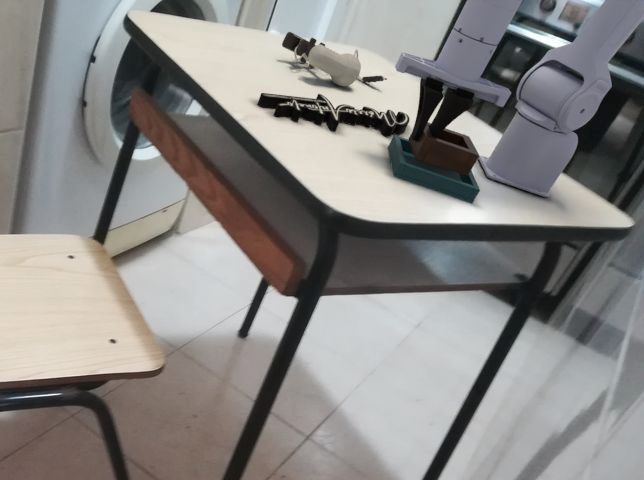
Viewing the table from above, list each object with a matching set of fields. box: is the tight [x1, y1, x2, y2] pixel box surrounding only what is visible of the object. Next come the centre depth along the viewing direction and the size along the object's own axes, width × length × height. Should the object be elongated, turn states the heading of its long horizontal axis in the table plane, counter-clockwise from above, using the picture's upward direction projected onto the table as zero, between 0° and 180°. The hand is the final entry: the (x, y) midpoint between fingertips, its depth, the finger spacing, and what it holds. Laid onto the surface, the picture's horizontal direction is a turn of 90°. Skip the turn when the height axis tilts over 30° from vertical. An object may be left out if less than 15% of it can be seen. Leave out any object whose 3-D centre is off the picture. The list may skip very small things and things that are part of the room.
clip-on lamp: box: [281, 31, 388, 87], centre depth 115 cm, size 12×6×18 cm
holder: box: [387, 134, 481, 204], centre depth 92 cm, size 11×11×2 cm
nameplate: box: [257, 92, 410, 138], centre depth 100 cm, size 28×2×10 cm
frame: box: [407, 121, 481, 176], centre depth 90 cm, size 8×7×3 cm
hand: (420, 140), depth 90 cm, fingers closed on frame
